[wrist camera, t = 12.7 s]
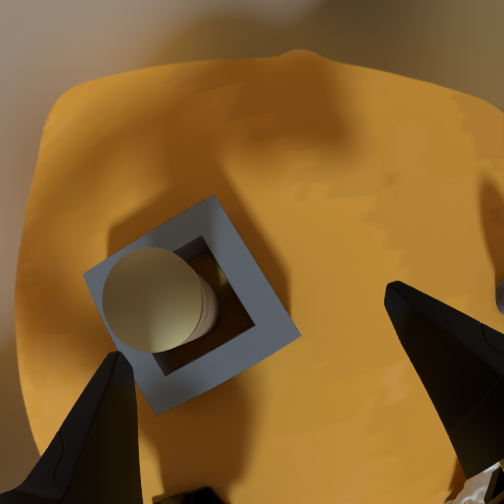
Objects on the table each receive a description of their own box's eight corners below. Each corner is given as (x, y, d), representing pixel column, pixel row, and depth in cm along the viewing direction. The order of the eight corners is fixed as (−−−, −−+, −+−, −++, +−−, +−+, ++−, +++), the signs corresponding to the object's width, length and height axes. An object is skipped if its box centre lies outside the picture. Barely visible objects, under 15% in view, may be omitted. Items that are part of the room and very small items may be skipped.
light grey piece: (476, 549, 8) (498, 464, 12) (438, 523, 17) (447, 447, 20) (516, 518, 9) (537, 433, 13) (476, 501, 17) (486, 425, 21)
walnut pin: (232, 319, 22) (221, 320, 12) (183, 347, 22) (131, 370, 11) (203, 270, 23) (169, 228, 12) (156, 298, 22) (87, 279, 12)
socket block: (291, 332, 22) (301, 335, 18) (170, 401, 21) (156, 415, 17) (218, 214, 24) (214, 194, 20) (106, 281, 23) (83, 274, 19)
